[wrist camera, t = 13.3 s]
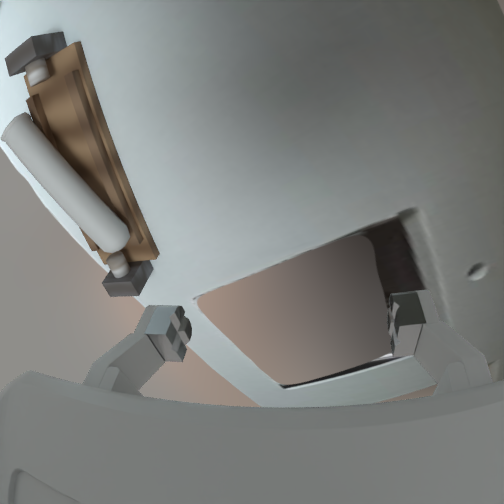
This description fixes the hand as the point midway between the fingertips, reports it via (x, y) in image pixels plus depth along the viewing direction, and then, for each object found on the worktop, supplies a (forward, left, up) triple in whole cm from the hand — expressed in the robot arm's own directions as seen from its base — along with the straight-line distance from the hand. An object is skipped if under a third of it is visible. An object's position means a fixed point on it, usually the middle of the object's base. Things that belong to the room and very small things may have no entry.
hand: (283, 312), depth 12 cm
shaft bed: (-1, -30, -29) cm, 41 cm away
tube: (0, -31, -26) cm, 40 cm away
